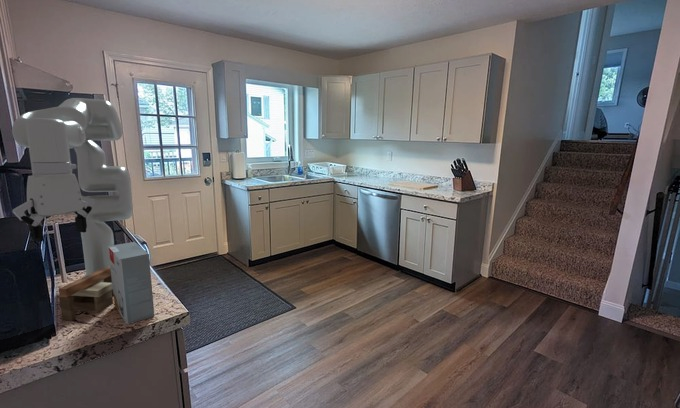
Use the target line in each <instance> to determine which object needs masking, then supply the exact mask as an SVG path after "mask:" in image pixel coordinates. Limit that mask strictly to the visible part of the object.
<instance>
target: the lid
mask: <svg viewBox="0 0 680 408" xmlns="http://www.w3.org/2000/svg"><path fill="white" fill-rule="evenodd" d="M112 289H113V287H112V283H107V282H97V283H95V284H93V285H91V286H89V287H87V288H85V289H83V290H81V291H79V292H77V293H75V294H73V295H72V296H89V297H100V296H101V295H103V294H105V293H107V292H109V291H110V290H112Z"/></svg>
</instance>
